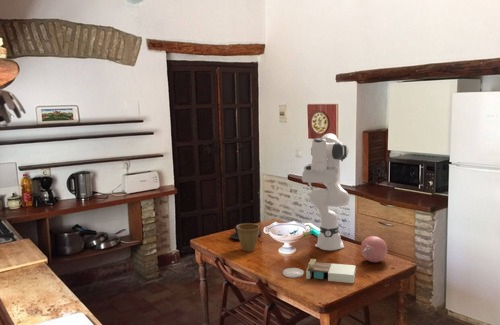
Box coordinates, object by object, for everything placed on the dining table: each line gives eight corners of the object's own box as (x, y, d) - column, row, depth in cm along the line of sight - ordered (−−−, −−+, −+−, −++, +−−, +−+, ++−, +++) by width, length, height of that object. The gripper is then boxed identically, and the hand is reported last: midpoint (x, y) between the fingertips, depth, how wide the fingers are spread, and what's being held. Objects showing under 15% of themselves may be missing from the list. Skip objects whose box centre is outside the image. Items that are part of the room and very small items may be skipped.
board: (310, 269, 260) (310, 261, 259) (355, 273, 252) (355, 265, 252) (306, 278, 247) (306, 270, 246) (353, 283, 239) (353, 275, 238)
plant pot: (247, 255, 287) (246, 231, 284) (233, 249, 298) (232, 226, 296) (264, 249, 296) (264, 226, 293) (250, 244, 307) (249, 221, 305)
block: (315, 274, 252) (315, 268, 252) (324, 275, 251) (324, 268, 250) (314, 278, 248) (313, 271, 247) (323, 279, 246) (323, 272, 245)
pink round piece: (351, 263, 266) (351, 238, 264) (370, 255, 280) (370, 231, 277) (373, 270, 255) (373, 244, 253) (392, 261, 268) (392, 236, 266)
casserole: (252, 230, 339) (252, 219, 338) (267, 236, 325) (267, 224, 323) (225, 237, 325) (224, 226, 323) (239, 243, 310) (239, 232, 309)
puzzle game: (273, 230, 338) (287, 242, 309) (273, 227, 338) (287, 238, 309) (310, 226, 346) (327, 238, 317) (310, 222, 345) (327, 233, 317)
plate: (285, 268, 262) (285, 267, 262) (305, 270, 258) (305, 268, 258) (280, 276, 251) (280, 275, 251) (301, 278, 247) (301, 276, 247)
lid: (311, 263, 256) (311, 258, 256) (330, 264, 253) (330, 259, 252) (307, 270, 246) (307, 265, 245) (328, 272, 242) (327, 266, 242)
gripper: (338, 165, 258) (338, 189, 259) (303, 165, 264) (303, 188, 266) (337, 167, 252) (337, 191, 254) (301, 167, 258) (301, 190, 260)
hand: (319, 190), depth 260 cm, fingers open, 8 cm apart
